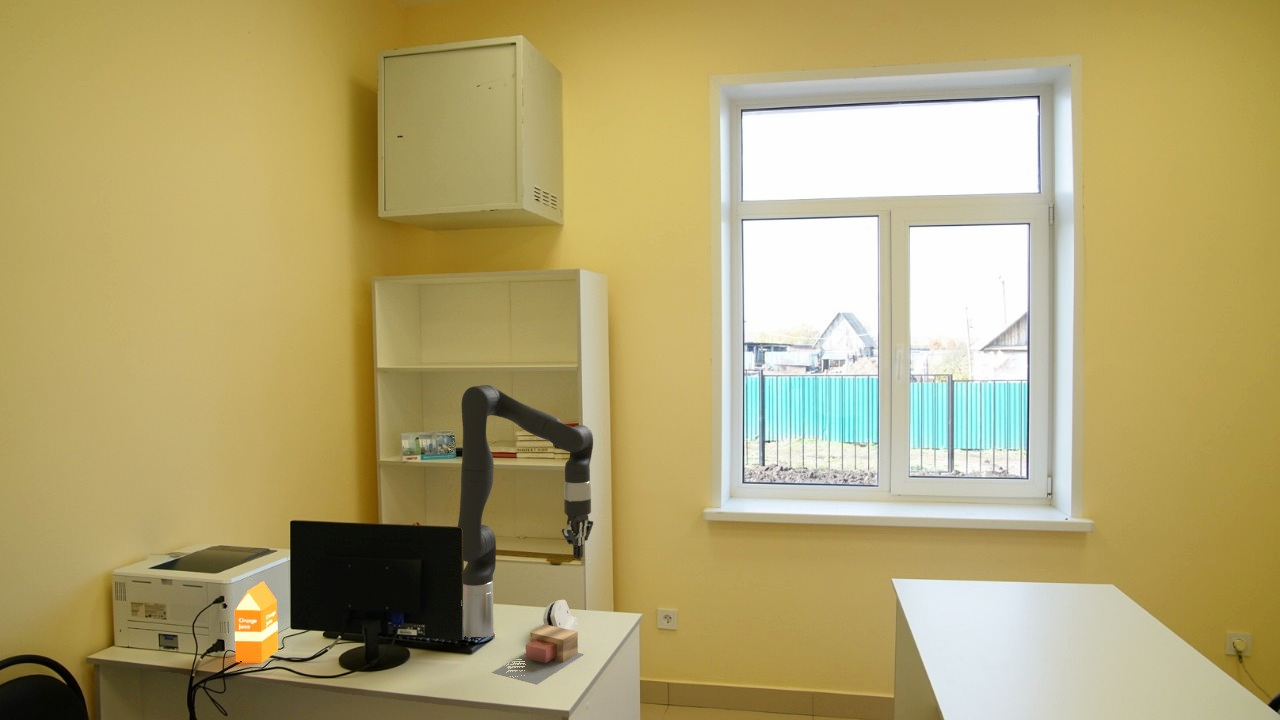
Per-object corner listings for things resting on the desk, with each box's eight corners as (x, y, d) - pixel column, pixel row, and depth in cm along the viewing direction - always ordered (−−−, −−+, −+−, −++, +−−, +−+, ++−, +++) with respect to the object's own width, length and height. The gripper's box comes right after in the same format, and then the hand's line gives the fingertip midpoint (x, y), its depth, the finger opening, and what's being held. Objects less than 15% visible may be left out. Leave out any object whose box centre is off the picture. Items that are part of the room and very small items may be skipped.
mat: (491, 673, 217) (491, 672, 217) (541, 644, 236) (541, 644, 236) (537, 685, 209) (537, 684, 209) (584, 654, 228) (584, 654, 228)
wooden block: (530, 654, 228) (530, 632, 228) (545, 646, 234) (545, 624, 234) (563, 662, 223) (563, 639, 223) (577, 653, 229) (577, 631, 229)
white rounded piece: (566, 643, 237) (554, 610, 237) (551, 647, 238) (539, 615, 238) (578, 622, 254) (567, 592, 254) (564, 626, 254) (553, 596, 255)
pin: (546, 666, 220) (545, 649, 219) (525, 661, 223) (525, 645, 223) (577, 647, 233) (577, 631, 233) (558, 642, 236) (557, 627, 236)
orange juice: (235, 662, 225) (233, 590, 224) (252, 649, 234) (250, 580, 233) (262, 662, 225) (260, 591, 224) (278, 650, 233) (277, 581, 233)
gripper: (579, 491, 236) (580, 550, 237) (552, 500, 225) (553, 562, 226) (601, 493, 233) (601, 553, 233) (575, 502, 221) (576, 565, 222)
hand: (578, 557), depth 229 cm, fingers closed
